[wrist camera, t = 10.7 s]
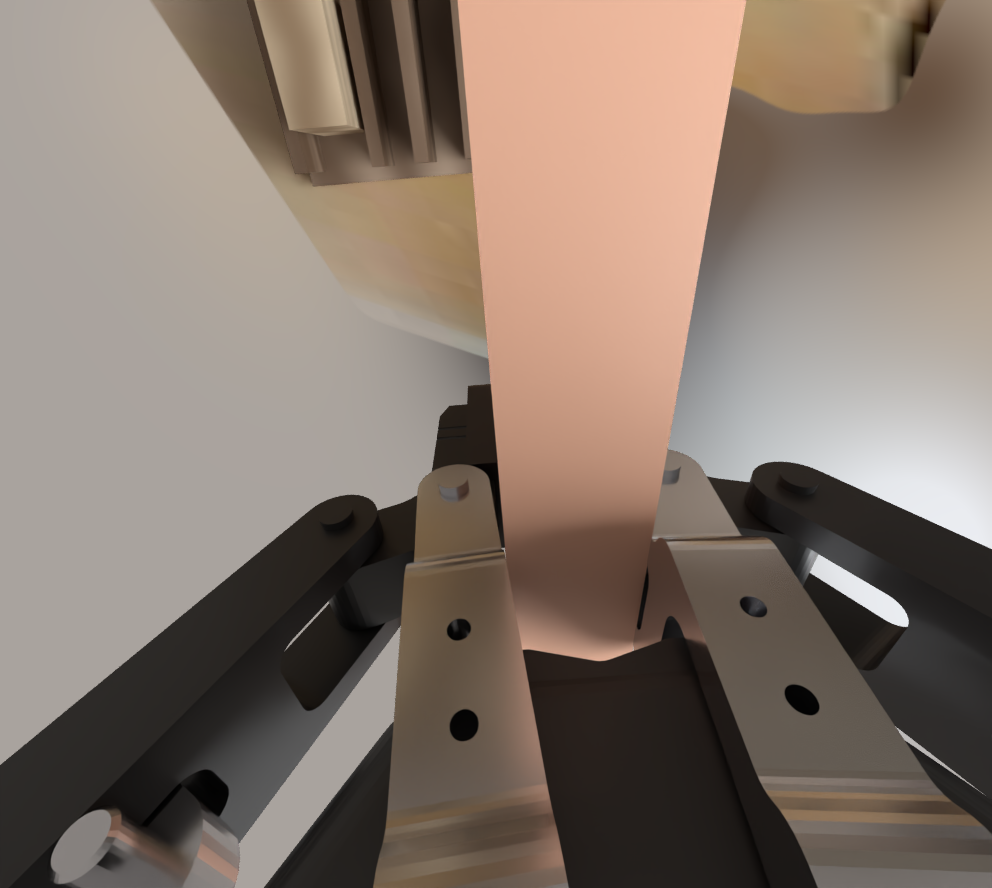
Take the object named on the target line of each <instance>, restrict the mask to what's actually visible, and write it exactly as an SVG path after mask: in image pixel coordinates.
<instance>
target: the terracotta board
mask: <svg viewBox="0 0 992 888" xmlns="http://www.w3.org/2000/svg"><path fill="white" fill-rule="evenodd" d="M745 4H746V0H458V11H459V23H460V34H461V46H462V57H463V69H464V80H465V92H466V103H467V115H468V126H469V138H470V149H471V161H472V172H473V184H474V195H475V207H476V218H477V230H478V241H479V253H480V264H481V276H482V287H483V299H484V310H485V322H486V334H487V345H488V357H489V368H490V379H491V391H492V403H493V414H494V426H495V437H496V449H497V460H498V472H499V483H500V495H501V506H502V518H503V529H504V541H505V552H506V563H507V568H508V574H509V579H510V585H511V590H512V596H513V601H514V607H515V612H516V618H517V623H518V628H519V634H520V639H521V645H522V650H525V649H531V650H536V651H542V652H548V653H554V654H560V655H565V656H571V657H577V658H583V659H589V660H594V661H606V660H609V659H612V658H615V657H618V656H621V655H623V654H626V653H629V652H632V650H633V640H634V635H635V629H636V625H637V621H638V615H639V610H640V604H641V598H642V593H643V587H644V581H645V575H646V570H647V560H648V554H649V548H650V543H651V539H652V535H653V530H654V524H655V518H656V513H657V507H658V501H659V496H660V490H661V484H662V478H663V473H664V467H665V461H666V456H667V450H668V443H669V438H670V433H671V427H672V421H673V416H674V410H675V404H676V398H677V393H678V387H679V380H680V375H681V370H682V364H683V358H684V353H685V347H686V341H687V335H688V330H689V324H690V318H691V312H692V307H693V301H694V296H695V290H696V284H697V278H698V273H699V267H700V261H701V255H702V250H703V244H704V238H705V233H706V227H707V221H708V216H709V210H710V204H711V198H712V193H713V187H714V181H715V176H716V170H717V163H718V158H719V153H720V147H721V141H722V136H723V130H724V124H725V118H726V113H727V107H728V101H729V96H730V90H731V84H732V78H733V73H734V67H735V61H736V56H737V50H738V44H739V38H740V33H741V27H742V21H743V16H744V10H745Z"/></svg>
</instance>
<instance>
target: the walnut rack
mask: <svg viewBox="0 0 992 888" xmlns="http://www.w3.org/2000/svg"><path fill="white" fill-rule="evenodd" d="M335 1H336V2H337V3H338V4H339V5H340V7H341V10H342V15H343V20H344V25H345V31H346V36H347V41H348V46H349V51H350V56H351V62H352V67H353V72H354V77H355V82H356V87H357V92H358V98H359V103H360V108H361V113H362V118H363V123H364V129H365V133H354V134H343V135H331V136H320V135H315V134H309V133H304V132H298V131H293V130H289V127H288V123H287V119H286V116H285V112H284V108H283V105H282V101H281V97H280V94H279V90H278V86H277V83H276V79H275V75H274V71H273V68H272V64H271V60H270V57H269V53H268V49H267V46H266V42H265V38H264V35H263V31H262V27H261V24H260V20H259V16H258V13H257V9H256V5H255V1H254V0H247V3H248V7H249V10H250V14H251V18H252V21H253V25H254V28H255V32H256V35H257V39H258V43H259V46H260V50H261V53H262V57H263V61H264V64H265V68H266V71H267V75H268V79H269V82H270V86H271V89H272V93H273V97H274V100H275V104H276V107H277V111H278V115H279V118H280V122H281V125H282V129H283V133H284V136H285V140H286V143H287V147H288V151H289V154H290V158H291V161H292V165H293V168H294V172H295V174H302V173H310V177H311V181H312V185H313V186H325V185H336V184H348V183H360V182H371V181H383V180H394V179H406V178H417V177H429V176H440V175H452V174H463V173H473V172H472V161H471V149H470V138H469V126H468V115H467V103H466V92H465V80H464V69H463V57H462V46H461V34H460V23H459V11H458V0H335Z"/></svg>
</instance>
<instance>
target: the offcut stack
mask: <svg viewBox="0 0 992 888" xmlns="http://www.w3.org/2000/svg"><path fill="white" fill-rule="evenodd" d="M254 1H255V5H256V9H257V13H258V16H259V20H260V24H261V27H262V31H263V35H264V38H265V42H266V46H267V49H268V53H269V57H270V60H271V64H272V68H273V71H274V75H275V79H276V83H277V86H278V90H279V94H280V97H281V101H282V105H283V108H284V112H285V116H286V119H287V123H288V127H289V130H293V131H298V132H304V133H309V134H315V135H320V136H331V135H343V134H354V133H365V129H364V123H363V118H362V113H361V108H360V103H359V98H358V92H357V87H356V82H355V77H354V72H353V67H352V62H351V56H350V51H349V46H348V41H347V36H346V31H345V25H344V20H343V15H342V10H341V7H340V5H339V4H338V3H337V2H336V1H335V0H254Z"/></svg>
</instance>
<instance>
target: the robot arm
mask: <svg viewBox="0 0 992 888" xmlns="http://www.w3.org/2000/svg"><path fill="white" fill-rule="evenodd" d="M467 403H468V404H467V405H455V406H449V407H448V408H447V409H446V410H445V412H444V413H443V414H442V415H441V416H440V420H439V427H438V434H437V441H436V447H435V455H434V461H433V468H432V472H431V473H429V474H428V475H427V476H425V477H424V478H423V480H422V481H421V482H420V484H419V487H418V494H417V496H415V497H413V498H412V499H410V500H408V501H406V502H403V503H401V504H397V505H394V506H391V507H388V508H384V509H381V510H378V511H377V508H376V506H375V504H374V503H373V501H371V500H370V499H369V498H366V497H364V496H359V495H345V496H339V497H335V498H332V499H329V500H326V501H324V502H322V503H320V504H318V505H317V506H315V507H314V508H313V509H311V510H310V511H309V512H307V513H306V514H305V515H304V516H302V517H301V518H300V519H299V520H298V521H296V522H295V523H294V524H293V525H292V526H290V527H289V528H288V529H287V530H285V531H284V532H283V533H282V534H281V535H279V536H278V537H277V538H276V539H275V540H274V541H272V542H271V543H270V544H269V545H267V546H266V547H265V548H264V549H262V550H261V551H260V552H259V553H258V554H256V555H255V556H254V557H253V558H251V559H250V560H249V561H248V562H247V563H245V564H244V565H243V566H242V567H241V568H239V569H238V570H237V571H236V572H235V573H233V574H232V575H231V576H230V577H228V578H227V579H226V580H225V581H224V582H222V583H221V584H220V585H219V586H217V587H216V588H215V589H214V590H213V591H212V592H210V593H209V594H208V595H206V596H205V597H204V598H203V599H202V600H200V601H199V602H198V603H197V604H196V605H194V606H193V607H192V608H191V609H190V610H188V611H187V612H186V613H185V614H183V615H182V616H181V617H180V618H178V619H177V620H176V621H175V622H174V623H172V624H171V625H170V626H169V627H168V628H167V629H165V630H164V631H163V632H162V633H160V634H159V635H158V636H157V637H155V638H154V639H153V640H152V641H151V642H149V643H148V644H147V645H146V646H144V647H143V648H142V649H141V650H140V651H138V652H137V653H136V654H135V655H133V656H132V657H131V658H130V659H129V660H127V661H126V662H125V663H124V664H123V665H122V666H120V667H119V668H118V669H116V670H115V671H114V672H113V673H112V674H110V675H109V676H108V677H107V678H106V679H104V680H103V681H102V682H101V683H100V684H98V685H97V686H96V687H95V688H93V689H92V690H91V691H90V692H89V693H87V694H86V695H85V696H84V697H83V698H81V699H80V700H79V701H78V702H76V703H75V704H74V705H73V706H72V707H70V708H69V709H68V710H67V711H65V712H64V713H63V714H62V715H61V716H60V717H58V718H57V719H56V720H55V721H53V722H52V723H51V724H50V725H48V726H47V727H46V728H45V729H44V730H42V731H41V732H40V733H39V734H38V735H36V736H35V737H34V738H33V739H31V740H30V741H29V742H28V743H27V744H25V745H24V746H23V747H22V748H21V749H19V750H18V751H17V752H16V753H14V754H13V755H12V756H11V757H9V758H8V759H7V760H6V761H5V762H3V763H2V764H1V765H0V888H234V887H235V883H236V880H237V875H238V871H239V862H240V850H239V843H240V841H241V840H242V839H243V837H244V836H245V835H246V833H247V832H248V831H249V829H250V828H251V826H252V825H253V824H254V822H255V821H256V820H257V818H258V817H259V816H260V814H261V813H262V812H263V810H264V809H265V808H266V806H267V805H268V804H269V802H270V801H271V799H272V798H273V797H274V796H275V794H276V793H277V791H278V790H279V789H280V787H281V786H282V785H283V783H284V782H285V781H286V779H287V778H288V777H289V775H290V774H291V772H292V771H293V770H294V769H295V767H296V766H297V765H298V763H299V762H300V760H301V759H302V758H303V756H304V755H305V754H306V752H307V751H308V750H309V748H310V747H311V746H312V744H313V743H314V742H315V740H316V739H317V737H318V736H319V735H320V733H321V732H322V731H323V729H324V728H325V727H326V725H327V724H328V723H329V721H330V720H331V719H332V717H333V716H334V715H335V713H336V712H337V711H338V709H339V708H340V707H341V705H342V704H343V703H344V701H345V700H346V698H347V697H348V696H349V694H350V693H351V692H352V690H353V689H354V688H355V686H356V685H357V684H358V682H359V681H360V680H361V678H362V677H363V676H364V674H365V673H366V671H367V670H368V669H369V667H370V666H371V665H372V663H373V662H374V661H375V659H376V658H377V657H378V655H379V654H380V653H381V651H382V650H383V649H384V647H385V646H386V645H387V643H388V642H389V641H390V639H391V638H392V637H393V635H394V634H395V632H396V631H397V630H398V628H399V627H400V625H401V629H400V644H399V657H398V671H397V685H396V698H395V712H394V722H393V723H392V724H391V725H390V726H389V727H388V728H387V730H386V731H385V732H384V733H383V735H382V736H381V737H380V738H379V740H378V741H377V742H376V744H375V745H374V746H373V747H372V749H371V750H370V751H369V753H368V754H367V755H366V756H365V758H364V759H363V760H362V762H361V763H360V765H358V767H357V768H356V769H355V771H354V772H353V773H352V775H351V776H350V777H349V779H348V780H347V781H346V782H345V784H344V785H343V786H342V787H341V789H340V790H339V791H338V793H337V794H336V795H335V797H334V798H333V799H332V800H331V802H330V803H329V804H328V806H327V807H326V808H325V809H324V811H323V812H322V814H321V815H320V816H319V817H318V818H317V820H316V821H315V822H314V824H313V825H312V826H311V827H310V829H309V830H308V831H307V833H306V834H305V835H304V837H303V838H302V839H301V841H300V842H299V843H298V844H297V846H296V847H295V848H294V849H293V851H292V852H291V853H290V855H289V856H288V857H287V859H286V860H285V861H284V862H283V864H282V865H281V867H280V868H279V869H278V870H277V871H276V873H275V874H274V875H273V877H272V878H271V879H270V880H269V882H268V883H267V884H266V886H265V887H264V888H992V549H990V548H988V547H985V546H983V545H981V544H979V543H977V542H975V541H972V540H970V539H968V538H966V537H964V536H961V535H959V534H957V533H955V532H953V531H950V530H948V529H946V528H944V527H942V526H939V525H937V524H935V523H933V522H930V521H928V520H926V519H924V518H922V517H919V516H917V515H915V514H913V513H911V512H908V511H906V510H904V509H902V508H900V507H897V506H895V505H893V504H891V503H889V502H886V501H884V500H882V499H880V498H878V497H875V496H873V495H871V494H869V493H867V492H864V491H862V490H860V489H858V488H856V487H853V486H851V485H849V484H847V483H844V482H842V481H840V480H838V479H836V478H834V477H831V476H829V475H827V474H825V473H823V472H820V471H818V470H815V469H813V468H810V467H808V466H804V465H800V464H796V463H790V462H770V463H765V464H762V465H760V466H758V467H757V468H756V469H755V470H754V471H753V474H752V477H751V480H750V482H742V481H741V482H740V481H733V480H725V479H718V478H712V477H707V476H706V475H705V473H704V471H703V470H702V468H701V466H700V465H699V464H698V463H697V462H696V461H695V460H693V459H692V458H691V457H689V456H687V455H684V454H682V453H680V452H677V451H673V450H667V456H666V461H665V467H664V473H663V478H662V484H661V490H660V496H659V501H658V507H657V513H656V518H655V524H654V530H653V535H652V539H651V543H650V548H649V554H648V560H647V570H646V575H645V581H644V587H643V593H642V598H641V604H640V610H639V615H638V621H637V625H636V629H635V635H634V640H633V646H634V651H632V652H629V653H626V654H623V655H621V656H618V657H615V658H612V659H609V660H606V661H594V660H589V659H583V658H577V657H571V656H565V655H560V654H554V653H548V652H542V651H536V650H531V649H525V650H522V645H521V639H520V634H519V628H518V623H517V618H516V612H515V607H514V601H513V596H512V590H511V585H510V579H509V574H508V568H507V563H506V558H505V553H504V550H502V549H501V548H505V541H504V529H503V518H502V506H501V495H500V483H499V472H498V460H497V449H496V437H495V426H494V414H493V403H492V391H491V384H486V385H473V386H468V401H467ZM818 554H819V555H821V556H823V557H825V558H826V559H828V560H830V561H831V562H833V563H835V564H836V565H838V566H840V567H842V568H843V569H845V570H847V571H848V572H850V573H852V574H854V575H855V576H857V577H859V578H860V579H862V580H864V581H866V582H867V583H869V584H870V585H872V586H874V587H876V588H877V589H879V590H881V591H882V592H884V593H886V594H888V595H889V596H891V597H892V598H893V599H895V600H896V601H897V602H898V603H899V604H900V605H901V606H902V607H903V609H904V610H905V612H906V613H907V616H908V619H909V625H908V627H901V626H897V625H894V624H891V623H889V622H887V621H886V620H884V619H882V618H881V617H879V616H878V615H876V614H874V613H873V612H871V611H870V610H868V609H866V608H865V607H863V606H862V605H860V604H858V603H857V602H855V601H854V600H852V599H851V598H848V597H847V596H846V595H844V594H842V593H841V592H839V591H838V590H836V589H834V588H833V587H831V586H830V585H828V584H827V583H825V582H823V581H822V580H820V579H819V578H817V577H815V576H814V575H812V574H811V573H810V571H811V568H812V566H813V564H814V562H815V560H816V558H817V556H818ZM328 601H329V604H328V605H327V607H326V608H325V609H324V610H323V611H322V612H321V613H320V614H319V615H318V616H317V617H316V618H315V619H314V620H313V622H312V623H311V624H310V625H309V626H308V627H307V628H306V629H305V630H304V631H303V632H302V633H301V634H300V636H299V637H298V638H297V639H296V640H295V641H294V642H293V643H292V644H291V645H290V646H289V647H288V649H287V650H286V651H285V649H286V648H287V646H288V644H289V643H290V642H291V641H292V639H293V638H294V637H295V636H296V635H297V634H298V633H299V632H300V631H301V630H302V629H303V628H304V626H305V625H306V624H307V623H308V622H309V621H310V620H311V619H312V618H313V617H314V616H315V615H316V614H317V613H318V612H319V611H320V609H321V608H322V607H323V606H324V605H325V604H326V603H327V602H328ZM284 651H285V652H284ZM895 726H896V727H897V728H899V729H900V730H901V731H902V732H904V733H905V734H906V735H908V736H909V737H910V738H912V739H913V740H914V741H915V742H917V743H918V744H919V745H921V746H922V747H923V748H925V749H926V750H927V751H928V752H930V753H931V754H932V755H934V756H935V757H936V758H938V759H939V760H940V761H941V762H943V763H944V764H945V765H947V766H948V767H949V768H951V769H952V770H953V771H955V772H956V773H957V774H959V775H960V776H961V777H962V778H964V779H965V780H966V781H967V782H969V783H970V784H971V785H973V786H974V787H975V788H977V789H978V790H979V791H980V792H979V791H978V790H976V789H975V788H973V787H972V786H971V785H969V784H968V783H966V782H965V781H963V780H962V779H960V778H959V777H958V776H956V775H954V774H953V773H952V772H950V771H949V770H947V769H946V768H944V767H943V766H941V765H940V764H938V763H937V762H936V761H934V760H933V759H931V758H930V757H928V756H927V755H925V754H924V753H922V752H921V751H919V750H918V749H917V748H915V747H914V746H912V745H911V744H909V743H908V742H906V741H905V740H904V739H903V737H902V736H901V735H900V733H899V731H898V730H897V728H896V727H895ZM981 792H982V793H983V794H982V793H981ZM985 795H986V796H985Z"/></svg>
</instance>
